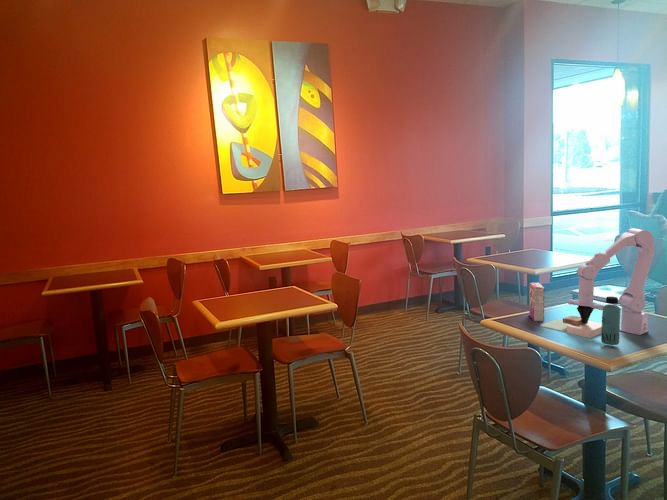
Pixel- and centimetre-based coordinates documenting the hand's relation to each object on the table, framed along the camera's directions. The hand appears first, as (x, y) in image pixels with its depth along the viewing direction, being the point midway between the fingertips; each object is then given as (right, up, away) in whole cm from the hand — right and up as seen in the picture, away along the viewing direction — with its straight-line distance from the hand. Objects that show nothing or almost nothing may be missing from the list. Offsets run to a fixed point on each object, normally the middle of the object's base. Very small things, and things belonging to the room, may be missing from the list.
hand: (584, 323), depth 211 cm
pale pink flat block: (+1, -4, 0) cm, 4 cm away
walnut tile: (-3, 0, +4) cm, 5 cm away
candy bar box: (-12, -1, +23) cm, 26 cm away
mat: (-6, -3, +9) cm, 11 cm away
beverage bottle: (0, -7, -19) cm, 20 cm away
